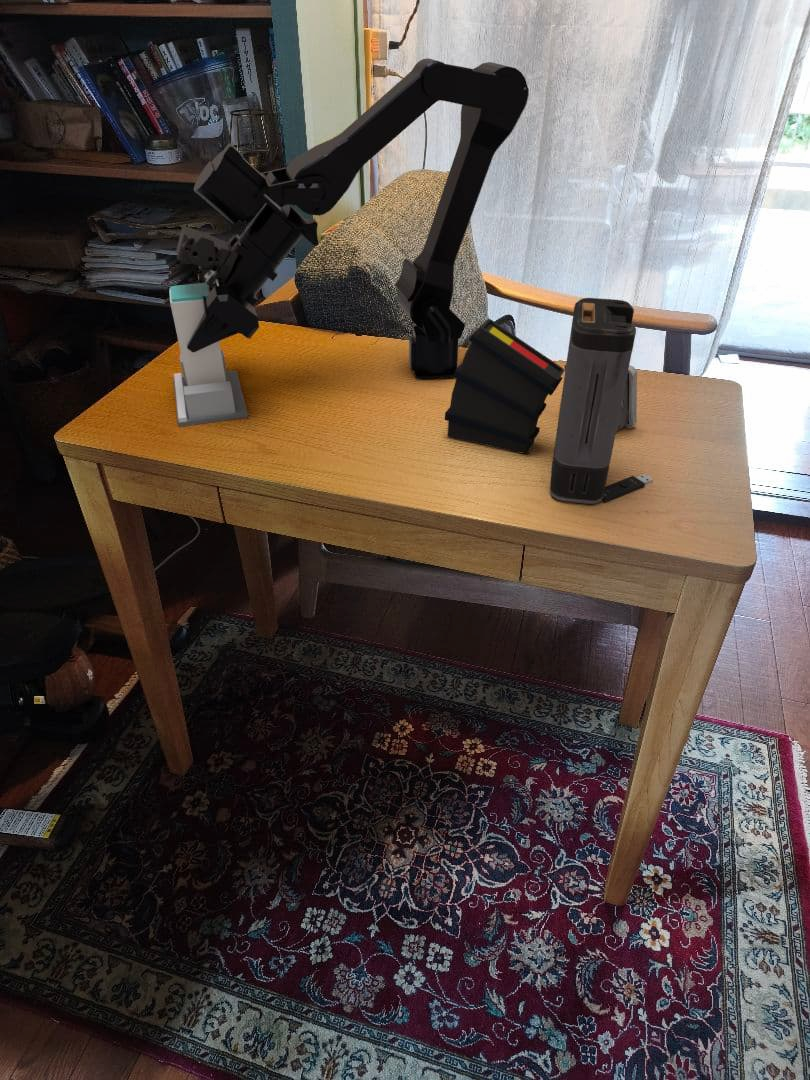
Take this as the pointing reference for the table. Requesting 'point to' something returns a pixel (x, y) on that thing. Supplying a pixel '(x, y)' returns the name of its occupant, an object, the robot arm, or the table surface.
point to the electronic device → (591, 398)
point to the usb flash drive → (625, 487)
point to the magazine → (500, 390)
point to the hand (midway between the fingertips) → (188, 342)
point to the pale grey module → (187, 316)
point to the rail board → (208, 399)
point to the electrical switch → (628, 401)
